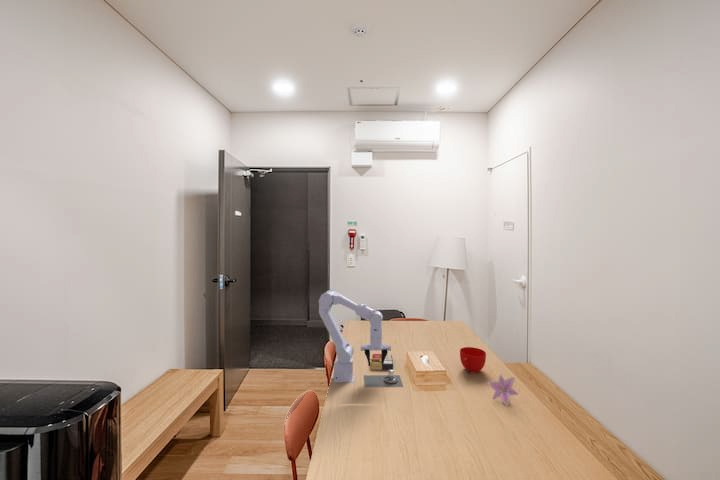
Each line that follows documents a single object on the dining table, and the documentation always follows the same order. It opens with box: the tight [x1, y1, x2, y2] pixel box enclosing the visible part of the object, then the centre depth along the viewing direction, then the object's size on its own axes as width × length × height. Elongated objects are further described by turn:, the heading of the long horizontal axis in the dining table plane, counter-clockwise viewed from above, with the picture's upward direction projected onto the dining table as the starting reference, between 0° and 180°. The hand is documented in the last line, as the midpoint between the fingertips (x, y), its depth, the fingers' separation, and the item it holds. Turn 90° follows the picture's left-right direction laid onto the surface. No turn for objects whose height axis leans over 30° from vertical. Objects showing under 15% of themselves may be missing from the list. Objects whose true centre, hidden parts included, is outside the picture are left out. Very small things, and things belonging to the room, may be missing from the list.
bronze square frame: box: [369, 358, 382, 371], centre depth 154 cm, size 6×6×3 cm
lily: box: [487, 374, 519, 407], centre depth 139 cm, size 12×12×10 cm
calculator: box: [371, 353, 394, 371], centre depth 174 cm, size 11×4×15 cm
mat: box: [363, 374, 404, 388], centre depth 154 cm, size 18×12×1 cm, turn 92°
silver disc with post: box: [384, 369, 398, 384], centre depth 154 cm, size 6×6×5 cm
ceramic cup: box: [459, 346, 487, 374], centre depth 166 cm, size 13×17×10 cm
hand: (375, 365), depth 154 cm, fingers closed on bronze square frame, 6 cm apart
